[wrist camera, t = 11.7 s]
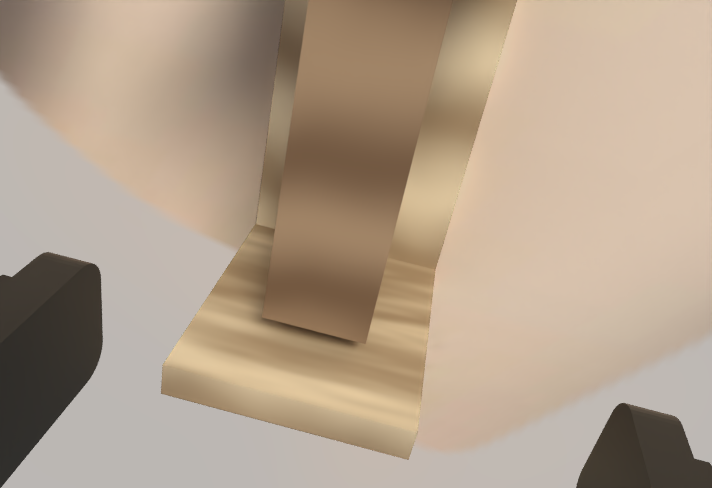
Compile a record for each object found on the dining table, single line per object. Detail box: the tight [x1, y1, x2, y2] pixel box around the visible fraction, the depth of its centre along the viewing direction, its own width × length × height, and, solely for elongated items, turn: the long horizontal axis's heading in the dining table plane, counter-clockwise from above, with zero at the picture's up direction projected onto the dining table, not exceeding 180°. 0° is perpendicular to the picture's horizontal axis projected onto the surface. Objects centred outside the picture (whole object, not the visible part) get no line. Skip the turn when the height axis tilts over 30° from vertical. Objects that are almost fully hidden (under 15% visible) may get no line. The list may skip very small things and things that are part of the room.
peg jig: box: [161, 0, 517, 460], centre depth 26 cm, size 22×10×13 cm, turn 169°
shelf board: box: [262, 0, 453, 344], centre depth 25 cm, size 16×4×5 cm, turn 169°
